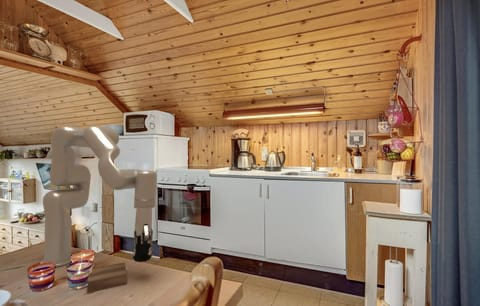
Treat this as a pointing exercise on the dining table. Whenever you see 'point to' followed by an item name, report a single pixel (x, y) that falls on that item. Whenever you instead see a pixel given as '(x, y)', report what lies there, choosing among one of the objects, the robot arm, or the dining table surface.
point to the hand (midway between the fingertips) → (142, 250)
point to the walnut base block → (107, 277)
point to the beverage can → (136, 248)
